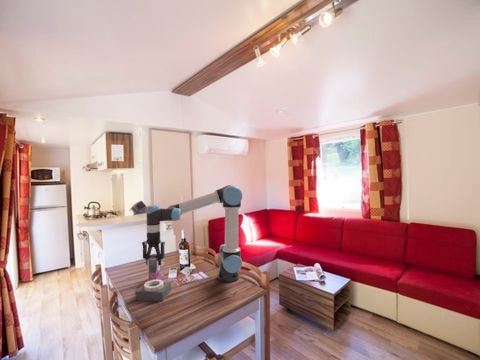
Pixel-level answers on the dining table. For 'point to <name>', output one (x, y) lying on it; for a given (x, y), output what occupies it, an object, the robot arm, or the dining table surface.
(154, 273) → the box
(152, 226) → the robot arm
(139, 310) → the dining table surface
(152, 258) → the lens
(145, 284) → the camera body
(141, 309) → the dining table surface
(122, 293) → the dining table surface
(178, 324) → the dining table surface
